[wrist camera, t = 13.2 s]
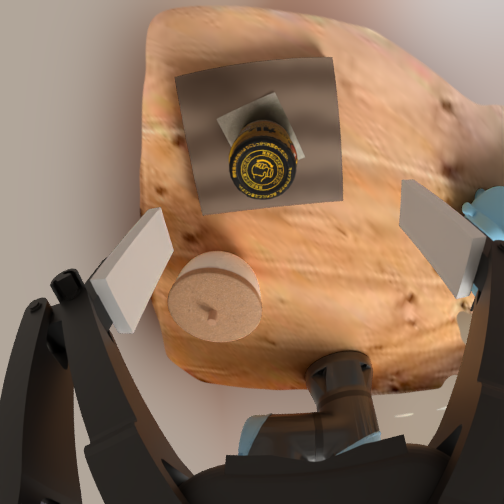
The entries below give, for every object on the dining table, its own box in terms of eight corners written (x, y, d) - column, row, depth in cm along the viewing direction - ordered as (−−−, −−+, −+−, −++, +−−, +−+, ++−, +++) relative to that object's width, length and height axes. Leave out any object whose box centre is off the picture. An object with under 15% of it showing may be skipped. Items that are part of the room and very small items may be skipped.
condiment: (249, 180, 34) (241, 223, 24) (216, 118, 30) (191, 131, 20) (304, 156, 32) (325, 189, 22) (274, 92, 28) (280, 89, 18)
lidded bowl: (188, 227, 41) (167, 271, 31) (272, 248, 42) (274, 297, 33) (178, 292, 47) (161, 340, 38) (250, 309, 48) (247, 360, 39)
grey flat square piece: (337, 192, 37) (343, 200, 34) (206, 206, 39) (202, 215, 36) (326, 60, 28) (332, 57, 25) (181, 78, 30) (174, 77, 27)
